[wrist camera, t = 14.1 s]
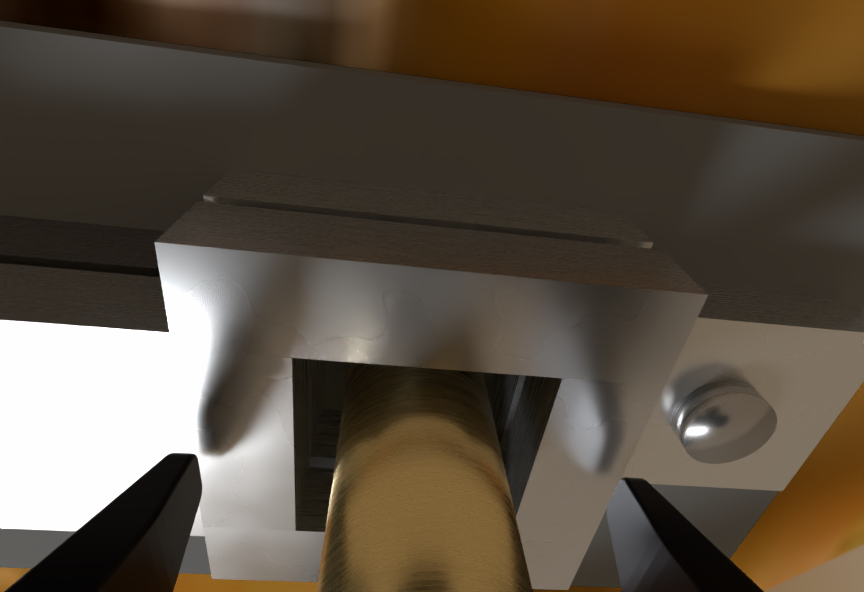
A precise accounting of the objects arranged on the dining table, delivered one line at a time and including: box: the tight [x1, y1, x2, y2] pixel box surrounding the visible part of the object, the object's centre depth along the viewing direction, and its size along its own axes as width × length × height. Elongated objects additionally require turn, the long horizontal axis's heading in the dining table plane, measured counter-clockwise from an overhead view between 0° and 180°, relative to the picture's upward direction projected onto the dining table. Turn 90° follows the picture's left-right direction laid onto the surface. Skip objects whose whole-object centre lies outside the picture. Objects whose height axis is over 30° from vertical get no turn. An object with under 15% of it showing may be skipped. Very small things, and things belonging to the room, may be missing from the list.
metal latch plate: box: [0, 201, 708, 590], centre depth 9 cm, size 8×17×3 cm, turn 83°
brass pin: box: [316, 362, 533, 592], centre depth 9 cm, size 3×3×7 cm
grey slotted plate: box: [0, 168, 864, 491], centre depth 11 cm, size 8×26×2 cm, turn 83°
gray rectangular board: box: [0, 21, 864, 588], centre depth 13 cm, size 16×30×1 cm, turn 83°
